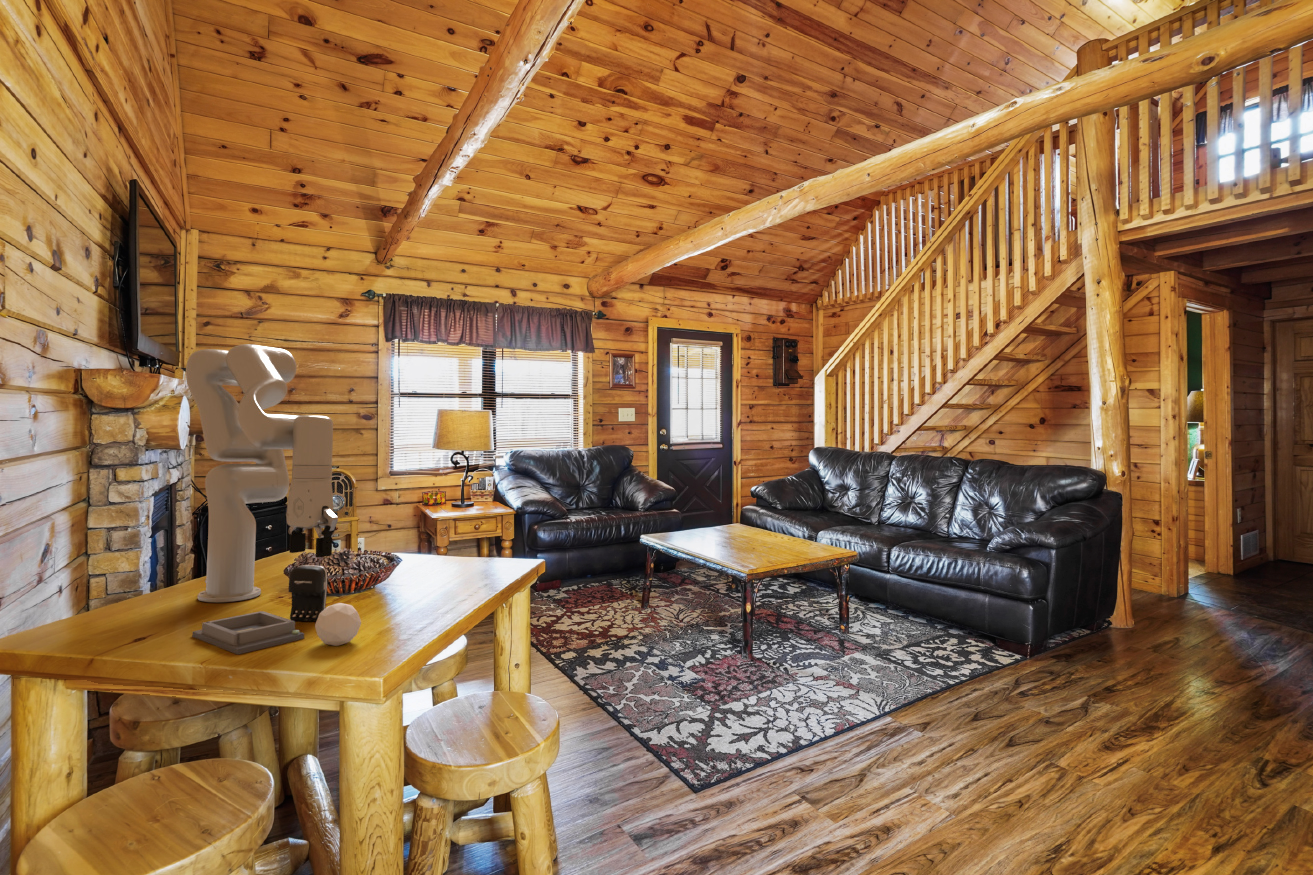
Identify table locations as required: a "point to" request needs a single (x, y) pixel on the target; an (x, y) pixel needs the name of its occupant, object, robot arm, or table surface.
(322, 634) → the geometric ball
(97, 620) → the table surface
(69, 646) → the table surface
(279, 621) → the charging dock
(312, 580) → the battery charger
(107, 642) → the table surface
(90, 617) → the table surface
